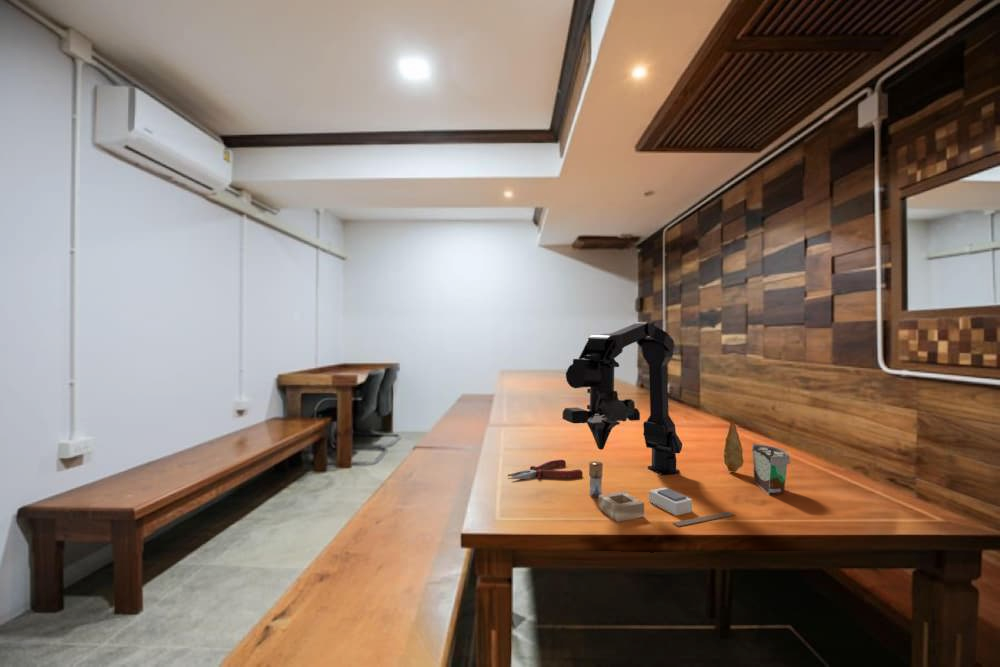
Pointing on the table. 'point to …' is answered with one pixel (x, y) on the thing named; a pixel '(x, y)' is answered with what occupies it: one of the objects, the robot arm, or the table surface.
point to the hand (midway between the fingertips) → (600, 449)
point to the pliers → (547, 472)
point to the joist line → (703, 519)
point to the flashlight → (595, 478)
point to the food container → (770, 468)
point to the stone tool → (733, 449)
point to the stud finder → (670, 501)
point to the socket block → (621, 506)
